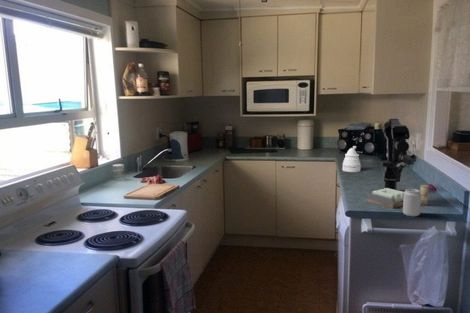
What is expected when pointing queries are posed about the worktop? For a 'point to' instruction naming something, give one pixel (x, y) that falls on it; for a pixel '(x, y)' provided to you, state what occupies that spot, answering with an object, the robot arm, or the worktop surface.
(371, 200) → the board
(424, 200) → the dowel
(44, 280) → the worktop surface
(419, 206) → the can
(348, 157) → the honey pot
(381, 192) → the block
